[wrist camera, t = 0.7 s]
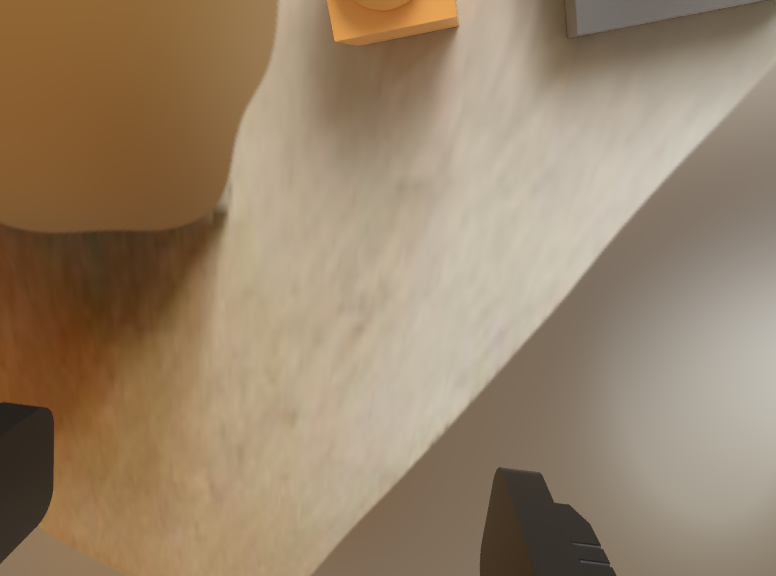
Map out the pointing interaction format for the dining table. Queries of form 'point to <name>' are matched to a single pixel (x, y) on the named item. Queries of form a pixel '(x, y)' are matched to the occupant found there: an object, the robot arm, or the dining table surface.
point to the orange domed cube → (388, 19)
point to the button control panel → (633, 12)
